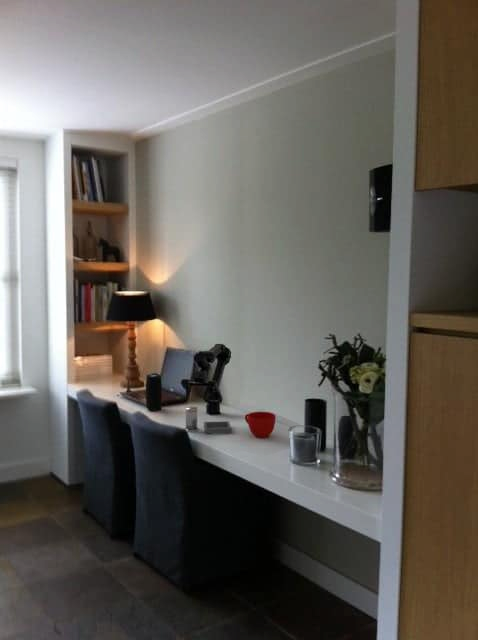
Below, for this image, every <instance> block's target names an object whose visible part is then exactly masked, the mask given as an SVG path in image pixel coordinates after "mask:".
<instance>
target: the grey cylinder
mask: <svg viewBox="0 0 478 640" xmlns="http://www.w3.org/2000/svg"><path fill="white" fill-rule="evenodd" d="M184 429H186V430H187V431H188V432H187V433H196V432H195V431H197V432H198V430H200V429H199V427H198V407H197V406H186V407H185V428H184Z"/></svg>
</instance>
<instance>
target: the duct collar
mask: <svg viewBox="0 0 478 640" xmlns="http://www.w3.org/2000/svg"><path fill="white" fill-rule="evenodd" d="M203 428H204V434H205V435H209V434H208V433H224V434H232V427H231V424H230V421H229V420H227V421H226V420H225V421H204V422H203Z"/></svg>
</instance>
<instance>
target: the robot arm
mask: <svg viewBox="0 0 478 640" xmlns="http://www.w3.org/2000/svg"><path fill="white" fill-rule="evenodd" d="M231 353H232V351H231V349H230V348H229V347H227V346H226V345H225V344H223V343H215V344H214V346H212V347H211V348H210V349H208V350H198V352H197V353H196V354H194V356H193V361H194V363H195V365H196V367H197V368H198V370H197V371H196V370H192V372H191V378H192V379H193V381H191V380H190V379H189V378H182V379H181V381H180V385H181V386H182V388H183V390H185V396H186V397H185V399H186V400H189V397H190V394H191V391H192V387H201V388H205V389H204V392H203V401H204V403H206V405H205V408H206V409H205V413H207V414H208V415H210V416H212V415H218V414H219V415H220V414H222V412H221V403H223V396H222V393H221V389H220V385H221V382H222V379H223V374H224V371H225V367H226V366H227V365H228V364H229V363H230V361H231V359H232V357H231ZM230 358H231V359H230ZM215 361H217V362H216V365H215V368H214V372H213V375H212V378H211V380H209V373H210V371H212V366H211V363H212V364H213V363H214V362H215ZM207 381H208V382H207Z"/></svg>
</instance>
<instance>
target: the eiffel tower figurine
mask: <svg viewBox="0 0 478 640" xmlns="http://www.w3.org/2000/svg"><path fill="white" fill-rule="evenodd" d="M129 378H130V377H129V376H128V377H127V387H126V388H127V389H126V391H125V393H124V395H125V394H128V395H129V394H131V395H132V393H133V391H131V390H132V389H131V387H130V379H129ZM116 396H117V397H119V398H120V399H123V398H121V397H122V396H120V394H116ZM123 400H124V399H123Z"/></svg>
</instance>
